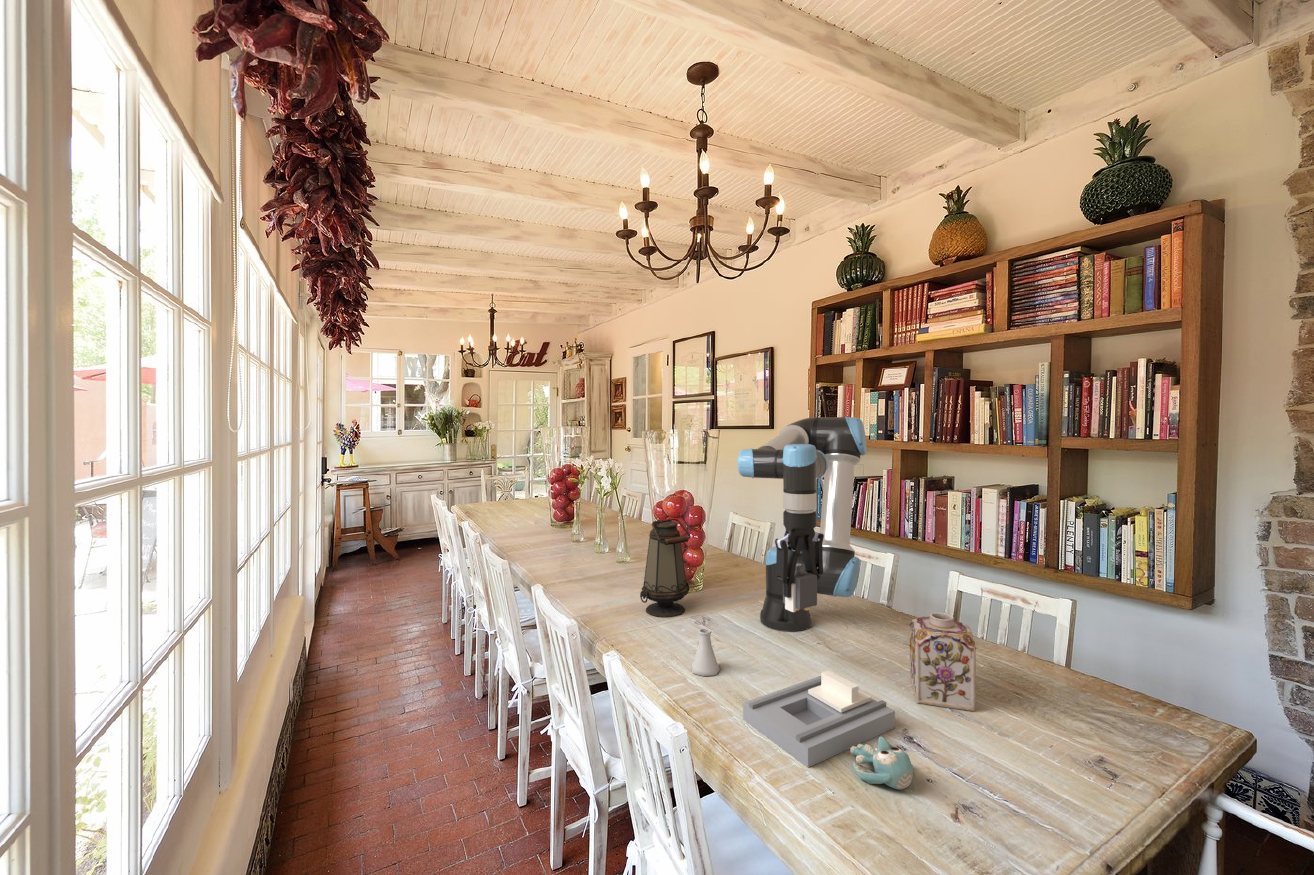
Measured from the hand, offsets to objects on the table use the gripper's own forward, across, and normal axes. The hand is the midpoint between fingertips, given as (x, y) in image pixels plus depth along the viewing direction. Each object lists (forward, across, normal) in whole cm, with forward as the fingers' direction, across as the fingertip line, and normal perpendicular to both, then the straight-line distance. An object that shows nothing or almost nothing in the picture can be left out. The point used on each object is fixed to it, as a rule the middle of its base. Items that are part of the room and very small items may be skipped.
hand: (800, 607), depth 127 cm
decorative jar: (+18, -22, +21) cm, 35 cm away
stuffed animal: (+18, +13, +32) cm, 38 cm away
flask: (+18, +16, -16) cm, 29 cm away
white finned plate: (+13, +4, +15) cm, 21 cm away
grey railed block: (+17, +10, +15) cm, 25 cm away
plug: (0, 0, 0) cm, 0 cm away
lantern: (+18, +3, -57) cm, 60 cm away
